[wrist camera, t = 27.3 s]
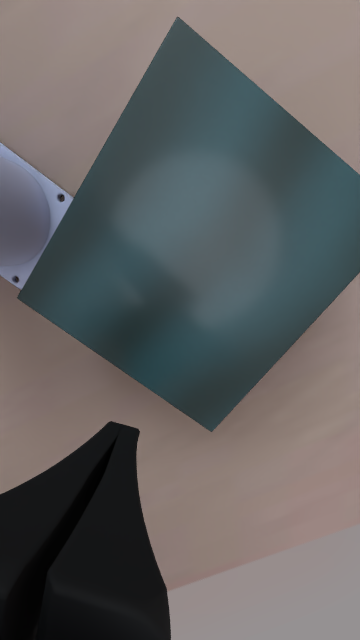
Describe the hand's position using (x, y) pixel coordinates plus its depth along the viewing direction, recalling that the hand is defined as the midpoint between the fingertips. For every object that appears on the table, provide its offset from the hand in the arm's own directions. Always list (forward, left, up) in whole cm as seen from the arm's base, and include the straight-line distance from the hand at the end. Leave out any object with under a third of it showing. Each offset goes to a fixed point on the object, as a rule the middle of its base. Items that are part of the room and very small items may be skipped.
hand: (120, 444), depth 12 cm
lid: (-2, +8, -4) cm, 9 cm away
